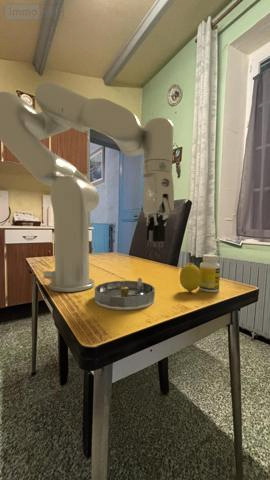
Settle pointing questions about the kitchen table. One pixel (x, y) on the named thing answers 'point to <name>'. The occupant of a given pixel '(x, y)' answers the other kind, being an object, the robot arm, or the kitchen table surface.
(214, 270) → the supplement bottle
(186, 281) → the lemon
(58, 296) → the kitchen table surface
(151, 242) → the gear
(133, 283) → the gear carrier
